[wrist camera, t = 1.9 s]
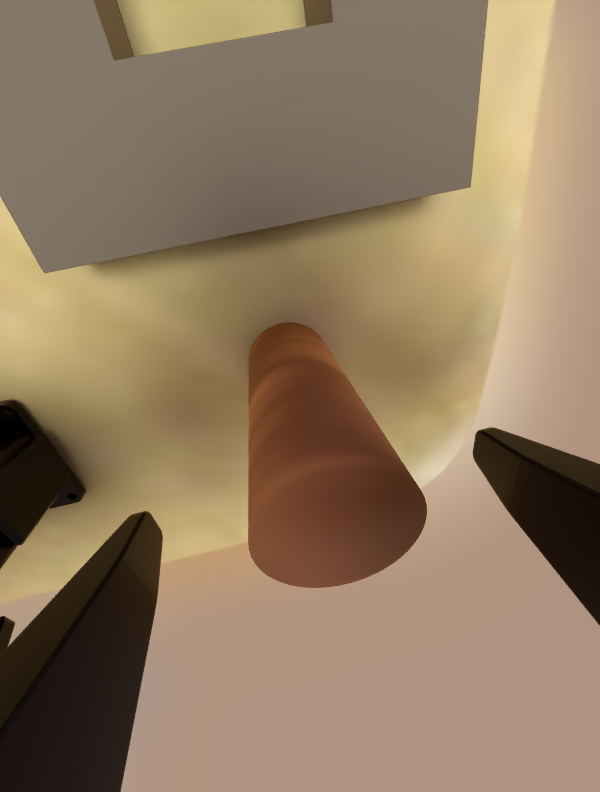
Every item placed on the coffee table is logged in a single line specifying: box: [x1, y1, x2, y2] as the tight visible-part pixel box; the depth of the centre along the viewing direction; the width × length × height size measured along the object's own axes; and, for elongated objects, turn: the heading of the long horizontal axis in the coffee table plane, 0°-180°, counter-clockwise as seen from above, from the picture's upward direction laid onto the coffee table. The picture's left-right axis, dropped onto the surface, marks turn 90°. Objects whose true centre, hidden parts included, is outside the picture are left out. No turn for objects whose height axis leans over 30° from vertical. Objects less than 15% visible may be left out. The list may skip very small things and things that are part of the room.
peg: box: [248, 323, 427, 588], centre depth 11 cm, size 4×4×10 cm
